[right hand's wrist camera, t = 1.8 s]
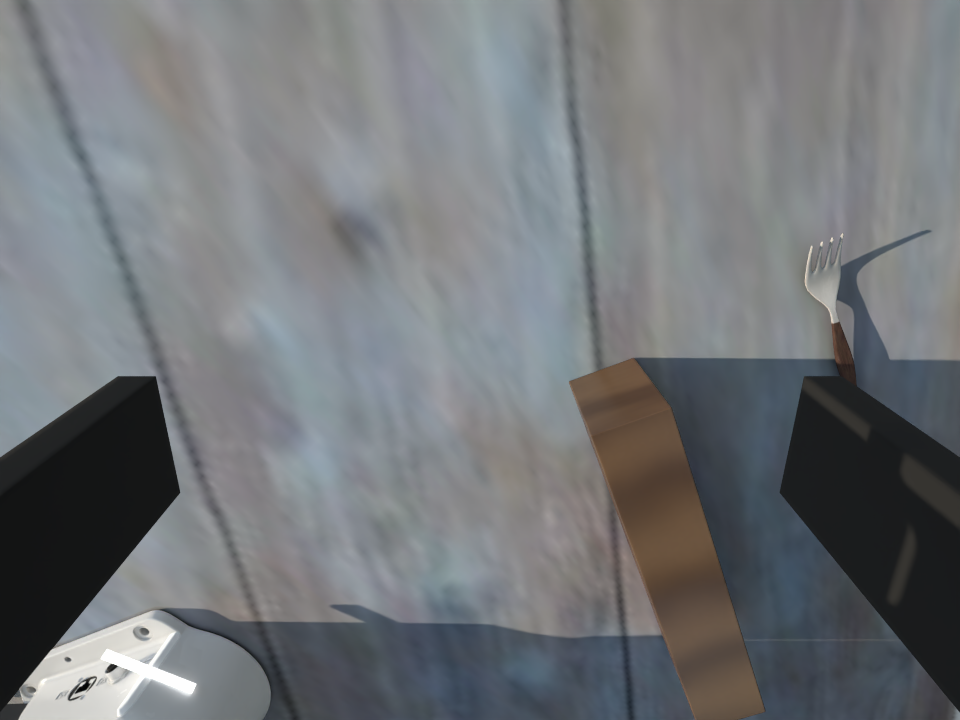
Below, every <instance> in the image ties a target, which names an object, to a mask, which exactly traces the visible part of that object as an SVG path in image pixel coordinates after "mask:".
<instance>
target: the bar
mask: <svg viewBox="0 0 960 720" xmlns="http://www.w3.org/2000/svg"><path fill="white" fill-rule="evenodd" d="M569 384H570V387H571V389H572V392H573V395H574V397H575V400H576V403H577V405H578V408H579V411H580V414H581V416H582V419H583V422H584V424H585V427H586V430H587V432H588V435H589V438H590V441H591V443H592V446H593V449H594V451H595V454H596V457H597V460H598V462H599V465H600V468H601V470H602V473H603V476H604V478H605V481H606V484H607V487H608V489H609V492H610V495H611V497H612V500H613V503H614V506H615V508H616V511H617V514H618V516H619V519H620V522H621V524H622V527H623V530H624V533H625V535H626V538H627V541H628V543H629V546H630V549H631V551H632V554H633V557H634V560H635V562H636V565H637V568H638V570H639V573H640V576H641V579H642V581H643V584H644V587H645V589H646V592H647V595H648V597H649V600H650V603H651V606H652V608H653V611H654V614H655V616H656V619H657V622H658V624H659V627H660V630H661V633H662V635H663V638H664V641H665V643H666V646H667V648H668V651H669V654H670V656H671V659H672V661H673V664H674V666H675V669H676V672H677V674H678V677H679V679H680V682H681V684H682V687H683V690H684V692H685V695H686V697H687V700H688V702H689V705H690V708H691V710H692V713H693V715H694V718H695V720H739V719H742V718H746V717H749V716H753V715H756V714H760V713H763V712H765V708H764V704H763V701H762V698H761V695H760V691H759V688H758V685H757V682H756V679H755V675H754V672H753V669H752V666H751V662H750V659H749V656H748V653H747V649H746V646H745V643H744V640H743V637H742V633H741V630H740V627H739V624H738V620H737V617H736V614H735V611H734V607H733V604H732V601H731V598H730V595H729V591H728V588H727V585H726V582H725V578H724V575H723V572H722V569H721V566H720V562H719V559H718V556H717V553H716V549H715V546H714V543H713V540H712V536H711V533H710V530H709V527H708V524H707V520H706V517H705V514H704V511H703V507H702V504H701V501H700V498H699V494H698V491H697V488H696V485H695V482H694V478H693V475H692V472H691V469H690V465H689V462H688V459H687V456H686V452H685V449H684V446H683V443H682V440H681V436H680V433H679V430H678V427H677V423H676V420H675V417H674V414H673V411H672V408H671V406H670V405H669V404H668V402H667V401H666V400H665V398H664V397H663V396H662V394H661V393H660V392H659V390H658V389H657V388H656V386H655V385H654V384H653V382H652V381H651V380H650V378H649V377H648V376H647V374H646V373H645V372H644V370H643V369H642V368H641V366H640V365H639V364H638V362H637V361H636V360H635V359H634V358H632V359H630V360H627V361H624V362H621V363H619V364H616V365H613V366H610V367H608V368H605V369H602V370H599V371H597V372H594V373H591V374H588V375H586V376H583V377H580V378H577V379H575V380H572V381H569Z"/></svg>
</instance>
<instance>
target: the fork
mask: <svg viewBox="0 0 960 720" xmlns="http://www.w3.org/2000/svg"><path fill="white" fill-rule="evenodd" d="M843 236H844V234H843V233H842V234H841V237H840V241H839V245H838V249H837V253H836V257H835V261H834V263H833V264H831V252H832V244H833V238H831V241H830V245H829V248H828V252H827V257H826V262H825V266H824V267H823V268H822V267H821V256H822V247H823V242H821V244H820V248H819V252H818V257H817V262H816V267H815V270H814V271H813V272H812V271H811V261H812V250H813V246H811V248H810V252H809V256H808V261H807V267H806V274H805V286H806V288H807V290H808V292H809V293H810V294H811V295H812V296H813V297H815V298H816V299H817V300H818V301H820V302H821V303H822V304H824V305H825V306H826V307H827V308H828V310H829V312H830V315H831V323H832V333H833V345H834V354H835V360H836V365H837V368H838V371H839V374H840V376H842V377H844V378H845V379H847V380H848V381H850V382H851V383H852V384H854V385H855V386H857V384H856V374H855V366H854V361H853V358H852V354H851V351H850V348H849V346H848V343H847V340H846V338H845V335H844V333H843V330H842V327H841V325H840V322H839V319H838V316H837V313H836V299H837V294H838V289H839V284H840V278H841V248H842V241H843Z"/></svg>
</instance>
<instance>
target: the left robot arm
mask: <svg viewBox="0 0 960 720" xmlns="http://www.w3.org/2000/svg"><path fill="white" fill-rule="evenodd" d="M20 693H21V696H22V699H23V702H24V704H7V705H6V706H5V707H4V708H3V709H2V711H1V712H0V720H263V719H264V717H265V715H266V714H267V711H268V709H269V706H270V701H271V690H270V684H269V681H268V678H267V676H266V674H265V672H264V670H263V669H262V667H261V666H260V664H259V663H258V662H257V661H256V660H255V659H254V658H253V657H252V656H251V655H250V654H249V653H248V652H247V651H246V650H244V649H243V648H242V647H240V646H239V645H237V644H235V643H234V642H232V641H230V640H228V639H226V638H224V637H221V636H219V635H216V634H213V633H210V632H206V631H202V630H199V629H196V628H193V627H190V626H188V625H186V624H185V623H183V622H182V621H180V620H179V619H177V618H176V617H174V616H172V615H171V614H169V613H167V612H164V611H161V610H153V611H150V612H147V613H144V614H142V615H139V616H137V617H134V618H132V619H129V620H126V621H124V622H121V623H119V624H116V625H113V626H111V627H108V628H106V629H103V630H101V631H98V632H95V633H93V634H90V635H88V636H85V637H82V638H80V639H77V640H75V641H72V642H70V643H67V644H64V645H62V646H59V647H57V648H54V649H52V650H51V651H50V652H49V653H48V655H47V656H46V657H45V658H44V659H43V661H42V662H41V663H40V664H39V666H38V667H37V668H36V669H35V670H34V672H33V673H32V674H31V675H30V676H29V678H28V679H27V680H26V681H25V683H24V684H23V685H22V686H21V687H20Z"/></svg>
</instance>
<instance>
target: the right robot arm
mask: <svg viewBox="0 0 960 720" xmlns="http://www.w3.org/2000/svg"><path fill="white" fill-rule="evenodd" d="M179 494H180V489H179V484H178V479H177V475H176V470H175V465H174V461H173V456H172V451H171V446H170V442H169V437H168V432H167V427H166V423H165V418H164V413H163V408H162V404H161V399H160V394H159V390H158V385H157V380H156V376H118V377H116V378H115V379H113V380H112V381H110V382H109V383H108V384H106V385H105V386H103V387H102V388H100V389H99V390H97V391H96V392H95V393H93V394H92V395H90V396H89V397H87V398H86V399H84V400H83V401H81V402H80V403H79V404H77V405H76V406H74V407H73V408H71V409H70V410H68V411H67V412H65V413H64V414H63V415H61V416H60V417H58V418H57V419H55V420H54V421H52V422H51V423H50V424H48V425H47V426H45V427H44V428H42V429H41V430H39V431H38V432H36V433H35V434H34V435H32V436H31V437H29V438H28V439H26V440H25V441H23V442H22V443H20V444H19V445H18V446H16V447H15V448H13V449H12V450H10V451H9V452H7V453H6V454H5V455H3V456H2V457H0V712H1V711H2V709H3V708H4V707H5V706H6V705H7V703H8V702H9V701H10V700H11V698H12V697H13V696H14V695H15V694H16V692H17V691H18V690H19V689H20V687H21V686H22V685H23V684H24V683H25V681H26V680H27V679H28V678H29V676H30V675H31V674H32V673H33V672H34V670H35V669H36V668H37V667H38V666H39V664H40V663H41V662H42V661H43V659H44V658H45V657H46V656H47V655H48V653H49V652H50V651H51V650H52V648H53V647H54V646H55V645H56V644H57V642H58V641H59V640H60V639H61V637H62V636H63V635H64V634H65V633H66V631H67V630H68V629H69V628H70V626H71V625H72V624H73V623H74V622H75V620H76V619H77V618H78V617H79V616H80V614H81V613H82V612H83V611H84V609H85V608H86V607H87V606H88V605H89V603H90V602H91V601H92V600H93V598H94V597H95V596H96V595H97V594H98V592H99V591H100V590H101V589H102V587H103V586H104V585H105V584H106V583H107V581H108V580H109V579H110V578H111V576H112V575H113V574H114V573H115V572H116V570H117V569H118V568H119V567H120V565H121V564H122V563H123V562H124V561H125V559H126V558H127V557H128V556H129V555H130V553H131V552H132V551H133V550H134V548H135V547H136V546H137V545H138V544H139V542H140V541H141V540H142V539H143V537H144V536H145V535H146V534H147V533H148V531H149V530H150V529H151V528H152V526H153V525H154V524H155V523H156V522H157V520H158V519H159V518H160V517H161V515H162V514H163V513H164V512H165V511H166V509H167V508H168V507H169V506H170V504H171V503H172V502H173V501H174V500H175V498H176V497H177V496H178V495H179ZM780 494H781V495H782V496H783V497H784V498H785V500H786V501H787V502H788V503H789V504H790V506H791V507H792V508H793V509H794V511H795V512H796V513H797V514H798V515H799V517H800V518H801V519H802V520H803V522H804V523H805V524H806V525H807V526H808V528H809V529H810V530H811V531H812V533H813V534H814V535H815V536H816V537H817V539H818V540H819V541H820V542H821V544H822V545H823V546H824V547H825V548H826V550H827V551H828V552H829V553H830V555H831V556H832V557H833V558H834V559H835V561H836V562H837V563H838V564H839V565H840V567H841V568H842V569H843V570H844V572H845V573H846V574H847V575H848V576H849V578H850V579H851V580H852V581H853V583H854V584H855V585H856V586H857V587H858V589H859V590H860V591H861V592H862V594H863V595H864V596H865V597H866V598H867V600H868V601H869V602H870V603H871V605H872V606H873V607H874V608H875V609H876V611H877V612H878V613H879V614H880V616H881V617H882V618H883V619H884V620H885V622H886V623H887V624H888V625H889V626H890V628H891V629H892V630H893V631H894V633H895V634H896V635H897V636H898V637H899V639H900V640H901V641H902V642H903V644H904V645H905V646H906V647H907V648H908V650H909V651H910V652H911V653H912V655H913V656H914V657H915V658H916V659H917V661H918V662H919V663H920V664H921V666H922V667H923V668H924V669H925V670H926V672H927V673H928V674H929V675H930V676H931V678H932V679H933V680H934V681H935V683H936V684H937V685H938V686H939V687H940V689H941V690H942V691H943V692H944V694H945V695H946V696H947V697H948V698H949V700H950V701H951V702H952V703H953V705H954V706H955V707H956V708H957V709H958V711H959V712H960V457H958V456H957V455H955V454H954V453H953V452H951V451H950V450H948V449H947V448H945V447H944V446H942V445H941V444H940V443H938V442H937V441H935V440H934V439H932V438H931V437H929V436H928V435H926V434H925V433H924V432H922V431H921V430H919V429H918V428H916V427H915V426H913V425H912V424H910V423H909V422H908V421H906V420H905V419H903V418H902V417H900V416H899V415H897V414H896V413H895V412H893V411H892V410H890V409H889V408H887V407H886V406H884V405H883V404H881V403H880V402H879V401H877V400H876V399H874V398H873V397H871V396H870V395H868V394H867V393H865V392H864V391H863V390H861V389H860V388H858V387H857V386H855V385H854V384H852V383H851V382H850V381H848V380H847V379H845V378H844V377H842V376H804V380H803V385H802V390H801V394H800V399H799V404H798V408H797V413H796V418H795V423H794V427H793V432H792V437H791V442H790V446H789V451H788V456H787V461H786V465H785V470H784V475H783V479H782V484H781V489H780Z"/></svg>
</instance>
